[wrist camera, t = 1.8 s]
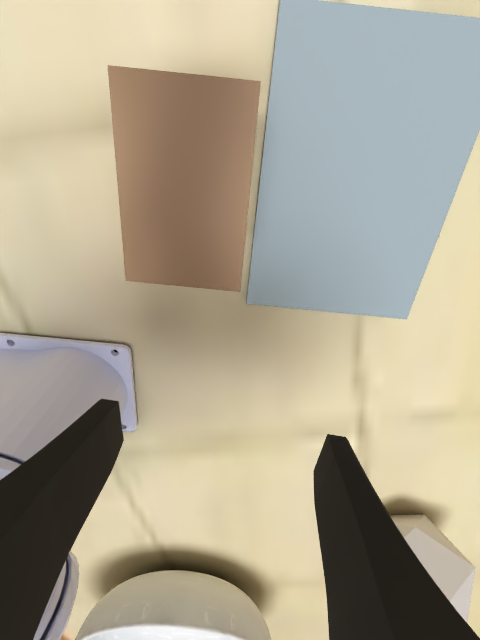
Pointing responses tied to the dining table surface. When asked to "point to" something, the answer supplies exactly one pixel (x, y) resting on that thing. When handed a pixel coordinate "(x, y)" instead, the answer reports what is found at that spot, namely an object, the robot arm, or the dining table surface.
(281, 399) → the dining table surface
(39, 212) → the dining table surface
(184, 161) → the block
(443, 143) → the mat
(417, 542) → the die
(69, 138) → the dining table surface
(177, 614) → the serving bowl
